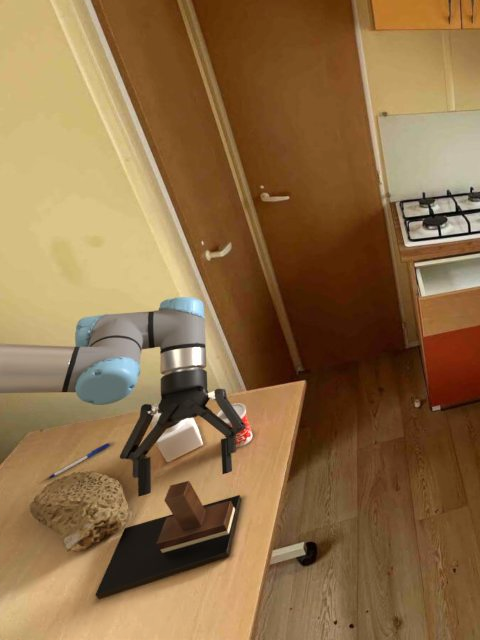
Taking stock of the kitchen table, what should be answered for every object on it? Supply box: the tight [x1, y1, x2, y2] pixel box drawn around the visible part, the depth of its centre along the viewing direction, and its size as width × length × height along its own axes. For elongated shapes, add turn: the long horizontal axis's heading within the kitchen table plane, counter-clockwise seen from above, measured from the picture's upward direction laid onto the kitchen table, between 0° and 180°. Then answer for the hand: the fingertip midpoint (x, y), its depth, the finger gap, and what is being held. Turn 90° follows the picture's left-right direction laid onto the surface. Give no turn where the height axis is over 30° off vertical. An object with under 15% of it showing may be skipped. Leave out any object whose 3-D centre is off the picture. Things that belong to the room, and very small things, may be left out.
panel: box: [94, 494, 243, 600], centre depth 81 cm, size 20×12×2 cm, turn 110°
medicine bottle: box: [150, 410, 204, 463], centre depth 98 cm, size 7×7×12 cm
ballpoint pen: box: [49, 443, 111, 479], centre depth 97 cm, size 10×1×1 cm, turn 147°
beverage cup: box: [216, 402, 253, 448], centre depth 99 cm, size 6×6×14 cm
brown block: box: [156, 480, 235, 553], centre depth 79 cm, size 11×5×12 cm, turn 108°
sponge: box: [29, 470, 129, 553], centre depth 85 cm, size 13×8×20 cm
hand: (187, 483), depth 81 cm, fingers open, 13 cm apart
